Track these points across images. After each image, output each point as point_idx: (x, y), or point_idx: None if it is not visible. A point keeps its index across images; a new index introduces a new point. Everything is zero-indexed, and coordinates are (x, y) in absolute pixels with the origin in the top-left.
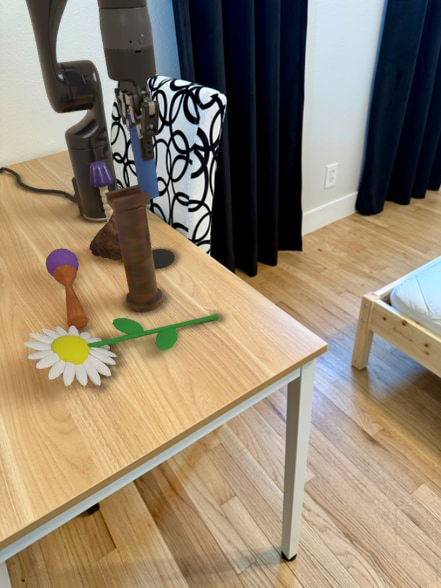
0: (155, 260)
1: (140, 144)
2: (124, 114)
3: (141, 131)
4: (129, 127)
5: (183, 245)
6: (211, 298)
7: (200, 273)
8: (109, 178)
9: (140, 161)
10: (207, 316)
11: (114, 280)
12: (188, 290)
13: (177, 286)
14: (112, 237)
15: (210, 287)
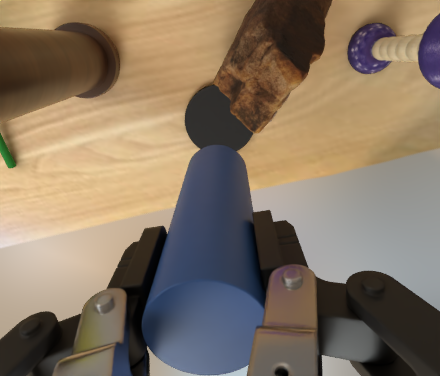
0: (211, 114)
1: (131, 268)
2: (270, 349)
3: (41, 336)
4: (268, 289)
5: (250, 180)
6: (67, 173)
7: (144, 179)
8: (437, 77)
9: (175, 214)
10: (3, 152)
11: (175, 12)
12: (99, 145)
13: (116, 131)
14: (243, 31)
15: (98, 181)
